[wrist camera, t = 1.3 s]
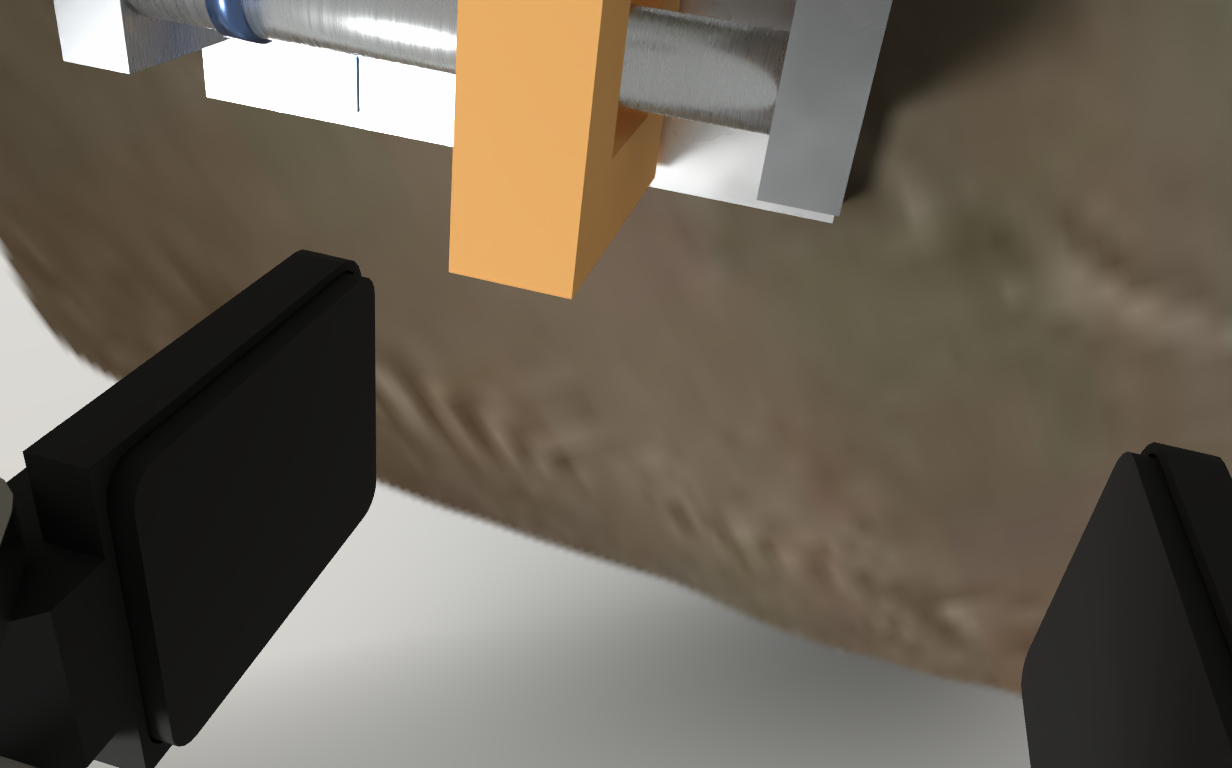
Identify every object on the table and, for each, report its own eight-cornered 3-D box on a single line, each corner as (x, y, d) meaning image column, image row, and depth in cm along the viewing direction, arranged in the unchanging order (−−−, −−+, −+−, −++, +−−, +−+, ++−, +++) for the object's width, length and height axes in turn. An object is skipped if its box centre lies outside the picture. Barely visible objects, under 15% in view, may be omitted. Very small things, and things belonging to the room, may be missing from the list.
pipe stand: (922, -149, 27) (926, -133, 20) (835, 206, 32) (815, 311, 25) (204, -253, 30) (4, -269, 23) (232, 86, 35) (74, 151, 28)
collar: (702, -156, 26) (617, -138, 19) (655, 177, 31) (571, 298, 23) (590, -172, 27) (463, -162, 19) (560, 158, 31) (448, 271, 24)
